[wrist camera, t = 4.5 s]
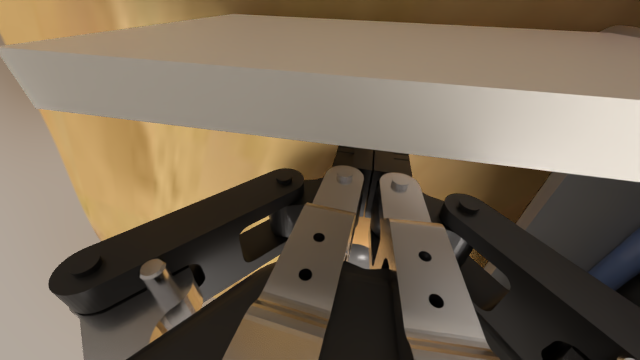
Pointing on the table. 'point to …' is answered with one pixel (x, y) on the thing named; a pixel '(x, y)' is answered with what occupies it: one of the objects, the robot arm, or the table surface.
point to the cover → (362, 86)
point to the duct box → (588, 228)
